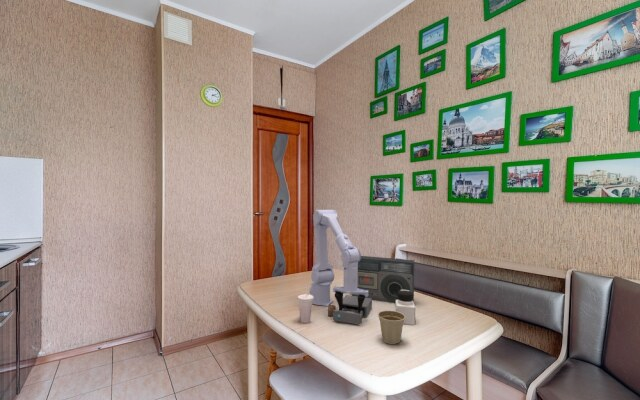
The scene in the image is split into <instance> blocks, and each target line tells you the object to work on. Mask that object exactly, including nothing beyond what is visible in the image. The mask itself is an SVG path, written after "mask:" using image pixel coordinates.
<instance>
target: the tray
mask: <svg viewBox="0 0 640 400" xmlns="http://www.w3.org/2000/svg"><path fill="white" fill-rule="evenodd" d="M345 309H347V308H346V307H345V306H344V307H343V310H345ZM343 310H342V311H339V309H336V310H333V317H332V321H336V322H342V323H348V324H354V325H361V323H362V322H361V320H362V318H363V317H362V316H363V314H364V309H362V310H361V313H360V314H358V310H356V311H357V313H352V312H346V311H343Z"/></svg>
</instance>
